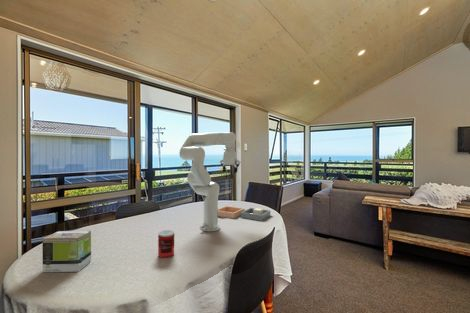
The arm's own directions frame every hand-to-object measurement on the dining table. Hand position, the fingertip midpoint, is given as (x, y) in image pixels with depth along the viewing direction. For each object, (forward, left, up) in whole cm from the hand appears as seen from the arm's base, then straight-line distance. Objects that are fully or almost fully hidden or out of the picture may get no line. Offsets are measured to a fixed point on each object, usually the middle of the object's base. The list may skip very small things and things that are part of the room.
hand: (229, 172), depth 177 cm
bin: (+16, -15, -36) cm, 43 cm away
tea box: (-100, +24, -37) cm, 109 cm away
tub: (+11, +6, -36) cm, 39 cm away
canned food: (-69, -4, -37) cm, 78 cm away
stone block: (+16, -17, -36) cm, 43 cm away
